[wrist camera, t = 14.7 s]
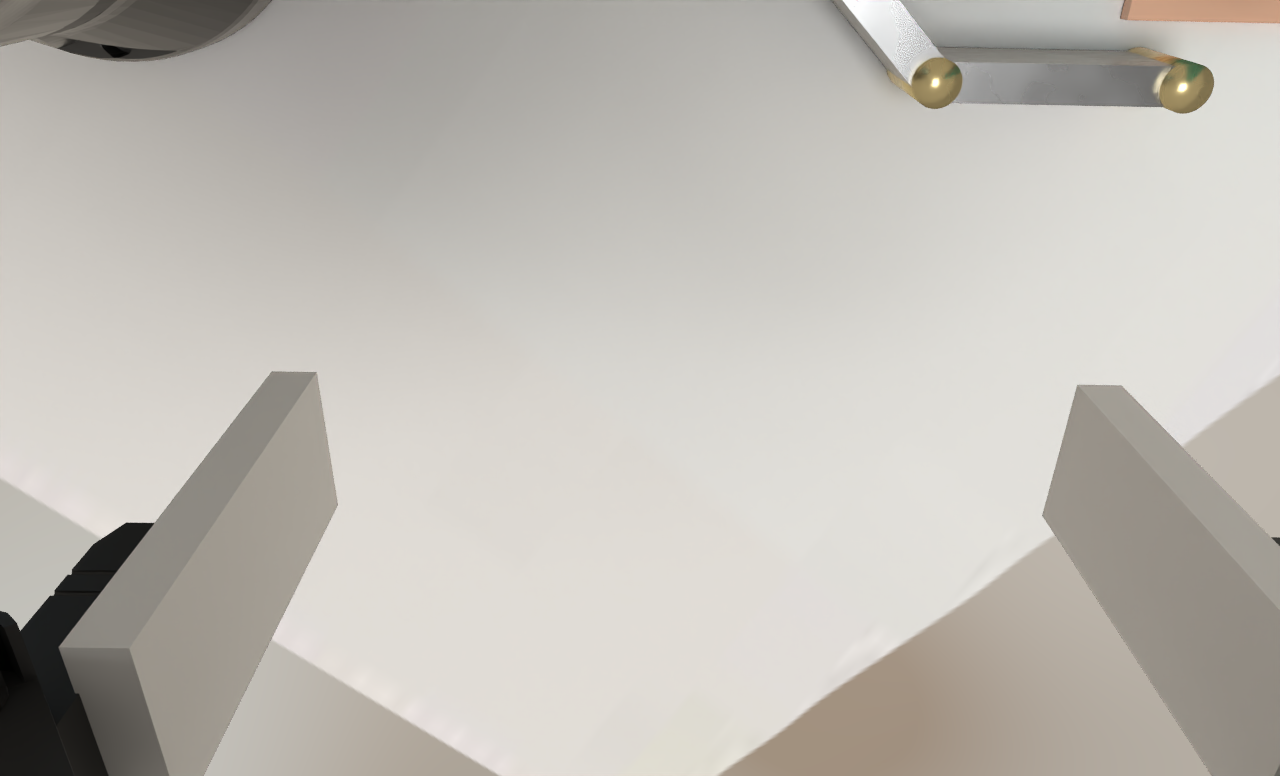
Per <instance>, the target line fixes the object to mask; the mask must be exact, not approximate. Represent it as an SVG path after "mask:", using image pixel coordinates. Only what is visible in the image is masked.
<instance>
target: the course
mask: <svg viewBox="0 0 1280 776" xmlns="http://www.w3.org/2000/svg"><path fill="white" fill-rule="evenodd" d="M831 1H832V2H833V3H834V4H835V6H836V7H837V8H838V9H839V11H840V12H841V13H842V14H843V16H844V17H845V18H846V19H847V21H848V22H849V23H850V24H851V25H852V27H853V28H854V29H855V30H856V32H857V33H858V34H859V35H860V37H861V38H862V39H863V40H864V42H865V43H866V44H867V45H868V47H869V48H870V49H871V50H872V52H873V53H874V54H875V55H876V57H877V58H878V59H879V60H880V62H881V63H882V64H883V65H884V67H885V68H886V69H887V74H888V77H889V79H890V80H891V81H892V82H893V83H894V84H895V85H896V86H898V87H899V88H900V89H902V90H903V91H904V92H906V93H907V94H909V95H910V96H911V97H913V98H914V99H915V100H917V101H918V102H919V103H921V104H922V105H924V106H925V107H928V108H932V109H938V108H942V107H945V106H947V105H949V104H950V103H979V104H1030V105H1082V106H1134V107H1164V108H1166V109H1169V110H1171V111H1174V112H1176V113H1189V112H1192V111H1195V110H1197V109H1198V108H1200V107H1201V106H1202V105H1203V104H1204V103H1205V102H1206V101H1207V100H1208V98H1209V97H1210V95H1211V93H1212V90H1213V87H1214V78H1213V75H1212V73H1211V71H1210V70H1209V69H1208V68H1207V67H1205V66H1203V65H1200V64H1197V63H1193V62H1190V61H1187V60H1183V59H1180V58H1177V57H1173V56H1170V55H1167V54H1163V53H1160V52H1157V51H1153V50H1150V49H1147V48H1143V47H1136V48H1132V49H1130V50H1128V51H1112V50H1062V49H1012V48H961V47H935V46H934V44H933V43H932V42H931V41H930V39H929V38H928V37H927V35H926V34H925V33H924V31H923V30H922V29H921V28H920V26H919V25H918V24H917V22H916V21H915V20H914V19H913V17H912V16H911V15H910V13H909V12H908V11H907V9H906V8H905V7H904V6H903V4H902V3H901V2H900V0H831Z"/></svg>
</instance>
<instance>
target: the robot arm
mask: <svg viewBox="0 0 1280 776" xmlns="http://www.w3.org/2000/svg"><path fill="white" fill-rule="evenodd" d="M270 1H271V0H0V47H1V46H5V45H9V44H14V43H18V42H22V41H26V40H32V41H35V42H38V43H41V44H44V45H48V46H51V47H54V48H57V49H60V50H64V51H67V52H70V53H74V54H78V55H82V56H86V57H90V58H96V59H102V60H111V61H131V62H137V61H153V60H160V59H166V58H171V57H175V56H179V55H182V54H185V53H188V52H191V51H194V50H197V49H200V48H203V47H206V46H209V45H212V44H214V43H216V42H219V41H221V40H223V39H225V38H227V37H229V36H230V35H232V34H234V33H235V32H237V31H238V30H240V29H241V28H243V27H244V26H246V25H247V24H248V23H249V22H251V21H252V20H253V19H254V18H255V17H256V16H257V15H258V14H259V13H260V12H262V11H263V10H264V8H265V7H266V6H267V5H268V4H269V3H270ZM337 506H338V503H337V497H336V490H335V484H334V478H333V472H332V465H331V459H330V453H329V447H328V441H327V434H326V428H325V422H324V416H323V409H322V403H321V397H320V391H319V384H318V378H317V372H271V373H270V375H269V376H268V377H267V378H266V380H265V381H264V382H263V384H262V385H261V386H260V387H259V389H258V390H257V391H256V393H255V394H254V395H253V397H252V398H251V399H250V400H249V402H248V403H247V404H246V406H245V407H244V408H243V409H242V411H241V412H240V413H239V415H238V416H237V417H236V419H235V420H234V421H233V422H232V424H231V425H230V426H229V428H228V429H227V430H226V431H225V433H224V434H223V435H222V437H221V438H220V439H219V440H218V442H217V443H216V444H215V446H214V447H213V448H212V450H211V451H210V452H209V453H208V455H207V456H206V457H205V459H204V460H203V461H202V462H201V464H200V465H199V466H198V468H197V469H196V470H195V472H194V473H193V474H192V475H191V477H190V478H189V479H188V481H187V482H186V483H185V484H184V486H183V487H182V488H181V490H180V491H179V492H178V493H177V495H176V496H175V497H174V499H173V500H172V501H171V503H170V504H169V505H168V506H167V508H166V509H165V510H164V512H163V513H162V514H161V515H160V517H159V518H158V519H157V521H156V522H155V523H125V524H124V525H122V526H121V527H119V528H117V529H116V530H114V531H113V532H111V533H110V534H108V535H107V536H105V537H104V538H102V539H101V540H99V541H98V542H96V543H95V544H93V546H92V547H91V548H90V549H89V550H88V551H87V553H86V554H85V555H84V556H83V557H82V558H81V560H80V561H79V562H78V563H77V564H76V566H75V567H74V568H73V569H72V574H71V575H67V576H66V577H65V579H64V580H63V581H62V582H61V583H60V585H59V586H58V587H57V588H56V589H55V594H54V596H49V598H48V599H47V600H46V601H45V602H44V604H43V605H42V606H41V607H40V609H39V610H38V611H37V612H36V613H35V614H34V615H33V617H32V618H31V619H30V620H29V621H28V623H27V624H26V625H25V626H24V628H23V629H22V630H21V631H20V630H19V628H18V625H17V623H16V622H15V621H14V619H13V618H12V617H11V616H10V615H9V614H8V613H6V612H2V611H0V776H204V774H205V772H206V770H207V768H208V766H209V764H210V762H211V760H212V758H213V756H214V754H215V752H216V750H217V748H218V746H219V744H220V742H221V740H222V738H223V736H224V734H225V732H226V730H227V728H228V726H229V724H230V722H231V720H232V717H233V715H234V713H235V711H236V709H237V707H238V705H239V703H240V701H241V699H242V697H243V695H244V693H245V691H246V689H247V687H248V685H249V683H250V681H251V679H252V677H253V675H254V673H255V671H256V669H257V667H258V665H259V663H260V661H261V659H262V657H263V655H264V653H265V651H266V649H267V647H268V645H269V643H270V641H271V639H272V637H273V635H274V633H275V631H276V629H277V627H278V625H279V623H280V621H281V619H282V617H283V615H284V613H285V611H286V608H287V606H288V604H289V602H290V600H291V598H292V596H293V594H294V592H295V590H296V588H297V586H298V584H299V582H300V580H301V578H302V576H303V574H304V572H305V570H306V568H307V566H308V564H309V562H310V560H311V558H312V556H313V554H314V552H315V550H316V548H317V546H318V544H319V542H320V540H321V538H322V536H323V534H324V532H325V530H326V528H327V526H328V524H329V522H330V520H331V518H332V516H333V514H334V512H335V510H336V508H337ZM1042 516H1043V517H1044V519H1045V520H1046V522H1047V524H1048V525H1049V527H1050V528H1051V530H1052V531H1053V533H1054V534H1055V536H1056V537H1057V539H1058V540H1059V542H1060V543H1061V545H1062V547H1063V548H1064V550H1065V551H1066V553H1067V554H1068V556H1069V557H1070V559H1071V560H1072V562H1073V563H1074V565H1075V567H1076V568H1077V570H1078V571H1079V573H1080V574H1081V576H1082V577H1083V579H1084V580H1085V582H1086V583H1087V585H1088V587H1089V588H1090V590H1091V591H1092V592H1093V594H1094V596H1095V597H1096V599H1097V600H1098V602H1099V603H1100V605H1101V607H1102V608H1103V610H1104V611H1105V613H1106V614H1107V616H1108V617H1109V619H1110V620H1111V622H1112V623H1113V625H1114V626H1115V628H1116V629H1117V631H1118V633H1119V634H1120V636H1121V637H1122V639H1123V640H1124V642H1125V643H1126V645H1127V646H1128V648H1129V650H1130V651H1131V653H1132V654H1133V655H1134V657H1135V659H1136V660H1137V662H1138V663H1139V665H1140V666H1141V668H1142V670H1143V671H1144V673H1145V674H1146V676H1147V677H1148V679H1149V680H1150V682H1151V683H1152V685H1153V686H1154V688H1155V690H1156V691H1157V692H1158V694H1159V696H1160V697H1161V699H1162V700H1163V702H1164V703H1165V705H1166V706H1167V708H1168V710H1169V711H1170V713H1171V714H1172V716H1173V717H1174V719H1175V720H1176V722H1177V723H1178V725H1179V726H1180V728H1181V729H1182V731H1183V733H1184V734H1185V736H1186V737H1187V739H1188V740H1189V742H1190V743H1191V745H1192V746H1193V748H1194V749H1195V751H1196V753H1197V754H1198V756H1199V757H1200V759H1201V760H1202V762H1203V763H1204V765H1205V766H1206V768H1207V769H1208V771H1209V773H1210V774H1211V775H1212V776H1280V538H1272V537H1270V536H1269V535H1268V534H1267V533H1266V532H1265V531H1264V530H1263V529H1262V528H1261V527H1260V526H1259V525H1258V524H1257V523H1256V522H1255V521H1254V520H1253V519H1252V518H1251V517H1250V516H1249V515H1248V514H1247V512H1246V511H1244V510H1243V508H1242V507H1241V506H1240V505H1239V504H1238V503H1237V502H1236V501H1235V500H1234V499H1233V498H1232V497H1231V496H1230V495H1229V494H1228V493H1227V492H1226V491H1225V490H1224V489H1223V488H1222V487H1221V486H1220V485H1219V484H1218V483H1217V482H1216V481H1215V480H1214V479H1213V478H1212V477H1211V476H1210V475H1209V474H1208V473H1207V472H1206V471H1205V470H1204V469H1203V468H1202V467H1201V466H1200V465H1199V464H1198V463H1197V462H1196V461H1195V460H1194V459H1193V458H1192V457H1191V456H1190V455H1189V454H1188V453H1187V452H1186V451H1185V450H1184V449H1183V448H1182V447H1181V445H1180V444H1179V443H1178V442H1177V441H1176V440H1175V439H1174V438H1173V437H1172V436H1171V435H1170V434H1169V433H1168V432H1167V431H1166V430H1165V429H1164V428H1163V427H1162V426H1161V425H1160V424H1159V423H1158V422H1157V421H1156V420H1155V419H1154V418H1153V417H1152V416H1151V415H1150V414H1149V413H1148V412H1147V411H1146V410H1145V409H1144V408H1143V407H1142V406H1141V405H1140V404H1139V403H1138V402H1137V401H1136V400H1135V399H1134V398H1133V397H1132V396H1131V395H1130V394H1129V393H1128V392H1127V391H1126V390H1125V389H1124V388H1123V387H1122V386H1116V385H1077V388H1076V392H1075V396H1074V400H1073V403H1072V407H1071V411H1070V414H1069V418H1068V422H1067V426H1066V429H1065V433H1064V437H1063V440H1062V444H1061V448H1060V452H1059V455H1058V459H1057V463H1056V467H1055V470H1054V474H1053V478H1052V481H1051V485H1050V489H1049V493H1048V496H1047V500H1046V504H1045V507H1044V511H1043V515H1042Z"/></svg>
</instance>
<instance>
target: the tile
mask: <svg viewBox="0 0 1280 776" xmlns="http://www.w3.org/2000/svg"><path fill="white" fill-rule="evenodd" d="M1121 19H1125V20H1146V21H1195V22H1245V23H1280V0H1125V2H1124V6H1123V10H1122V14H1121Z"/></svg>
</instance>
